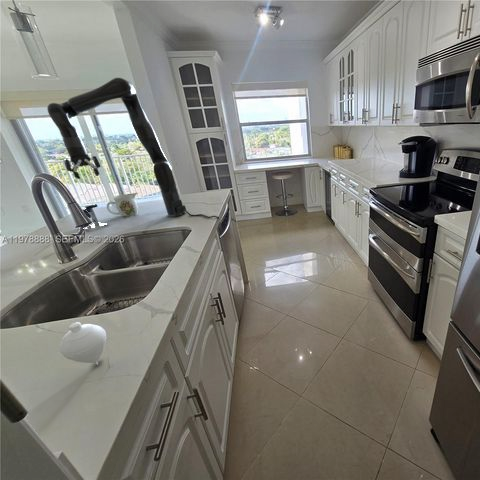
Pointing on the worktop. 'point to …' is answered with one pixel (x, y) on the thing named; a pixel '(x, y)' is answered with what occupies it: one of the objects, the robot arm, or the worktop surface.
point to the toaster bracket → (94, 221)
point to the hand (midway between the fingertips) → (88, 177)
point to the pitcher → (125, 205)
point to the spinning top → (83, 343)
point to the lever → (90, 207)
